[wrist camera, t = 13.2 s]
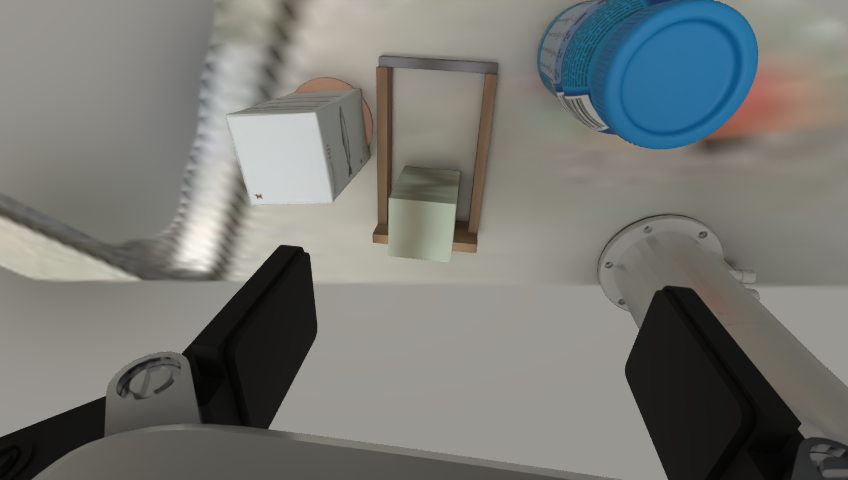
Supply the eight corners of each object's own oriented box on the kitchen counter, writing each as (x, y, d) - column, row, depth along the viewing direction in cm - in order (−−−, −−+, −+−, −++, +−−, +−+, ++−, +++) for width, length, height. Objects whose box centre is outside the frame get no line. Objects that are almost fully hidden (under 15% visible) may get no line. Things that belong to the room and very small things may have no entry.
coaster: (372, 80, 39) (370, 81, 39) (373, 168, 44) (372, 169, 43) (284, 74, 40) (282, 75, 40) (294, 161, 44) (292, 162, 44)
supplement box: (372, 159, 43) (334, 207, 32) (306, 161, 44) (247, 207, 33) (362, 86, 39) (317, 111, 28) (291, 90, 40) (220, 115, 29)
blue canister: (534, 7, 35) (590, -10, 17) (638, -9, 33) (812, -45, 16) (535, 107, 39) (580, 175, 21) (627, 96, 37) (758, 160, 20)
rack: (497, 62, 37) (502, 73, 29) (476, 231, 46) (475, 274, 38) (382, 55, 38) (357, 63, 30) (382, 222, 47) (363, 262, 39)
